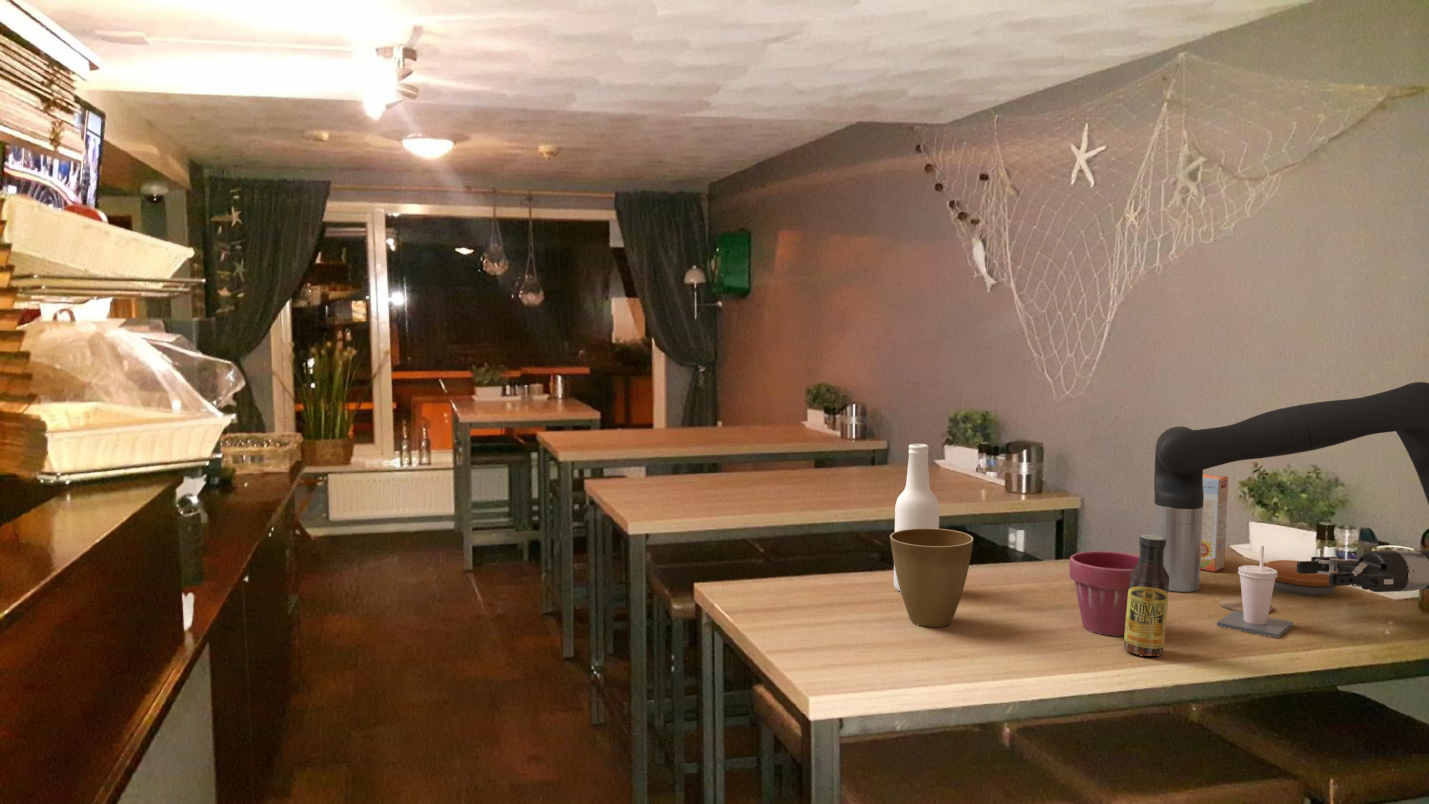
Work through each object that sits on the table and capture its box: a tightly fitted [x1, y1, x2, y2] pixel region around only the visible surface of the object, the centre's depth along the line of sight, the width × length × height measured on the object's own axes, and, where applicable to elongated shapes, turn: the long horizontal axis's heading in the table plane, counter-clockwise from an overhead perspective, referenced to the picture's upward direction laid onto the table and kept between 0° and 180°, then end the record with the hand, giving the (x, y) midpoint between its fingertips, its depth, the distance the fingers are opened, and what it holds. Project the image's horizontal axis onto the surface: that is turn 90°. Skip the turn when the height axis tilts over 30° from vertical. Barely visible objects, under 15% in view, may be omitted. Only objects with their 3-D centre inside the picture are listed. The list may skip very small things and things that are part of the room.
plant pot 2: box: [1068, 550, 1140, 636], centre depth 184 cm, size 14×14×13 cm
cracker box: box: [1200, 473, 1229, 573], centre depth 231 cm, size 14×6×21 cm, turn 44°
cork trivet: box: [1219, 596, 1273, 613], centre depth 199 cm, size 9×9×1 cm
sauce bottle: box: [1123, 534, 1169, 657], centre depth 171 cm, size 7×6×20 cm
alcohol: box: [893, 443, 940, 591], centre depth 208 cm, size 9×9×30 cm
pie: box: [1263, 559, 1338, 596], centre depth 213 cm, size 15×16×5 cm
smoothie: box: [1237, 545, 1278, 624], centre depth 186 cm, size 6×6×14 cm
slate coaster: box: [1216, 611, 1294, 639], centre depth 187 cm, size 10×10×1 cm
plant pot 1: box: [889, 528, 974, 628], centre depth 188 cm, size 15×15×16 cm
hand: (1314, 573), depth 187 cm, fingers open, 8 cm apart
